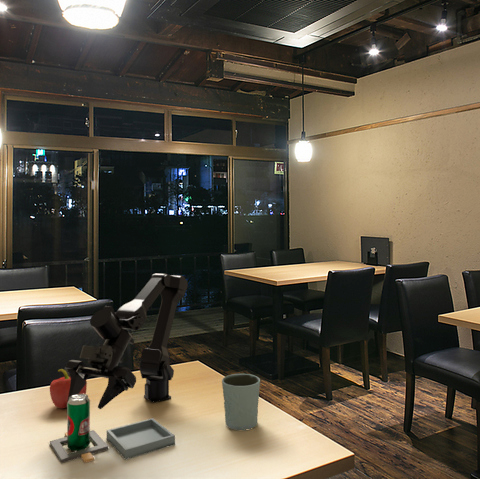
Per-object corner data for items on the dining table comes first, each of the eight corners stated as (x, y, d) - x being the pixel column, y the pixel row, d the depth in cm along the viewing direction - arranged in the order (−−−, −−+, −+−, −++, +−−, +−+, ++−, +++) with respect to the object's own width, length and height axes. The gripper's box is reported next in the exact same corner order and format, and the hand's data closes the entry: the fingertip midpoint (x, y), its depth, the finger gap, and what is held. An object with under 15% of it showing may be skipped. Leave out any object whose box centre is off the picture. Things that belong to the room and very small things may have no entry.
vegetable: (42, 405, 132) (42, 371, 132) (74, 396, 140) (74, 364, 140) (60, 415, 125) (60, 380, 125) (93, 405, 133) (93, 371, 132)
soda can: (82, 453, 104) (82, 401, 103) (62, 451, 105) (62, 400, 104) (93, 443, 109) (93, 394, 108) (75, 441, 110) (74, 392, 109)
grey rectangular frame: (90, 428, 116) (90, 425, 116) (112, 454, 103) (112, 451, 103) (46, 439, 110) (46, 436, 110) (65, 468, 97) (64, 465, 97)
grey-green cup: (265, 420, 122) (265, 376, 122) (250, 435, 113) (250, 388, 113) (232, 413, 126) (232, 371, 126) (215, 427, 117) (215, 382, 117)
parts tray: (152, 426, 118) (152, 418, 118) (174, 444, 108) (174, 435, 108) (106, 439, 111) (106, 430, 111) (125, 459, 101) (125, 450, 101)
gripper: (69, 328, 116) (35, 384, 106) (129, 335, 109) (99, 395, 99) (90, 351, 124) (60, 405, 114) (147, 359, 117) (121, 417, 107)
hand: (83, 405), depth 108 cm, fingers open, 9 cm apart
